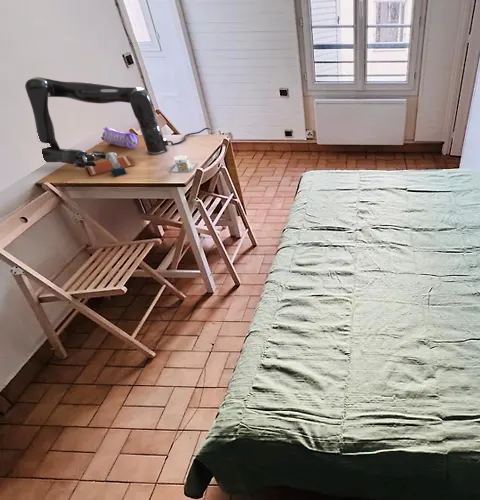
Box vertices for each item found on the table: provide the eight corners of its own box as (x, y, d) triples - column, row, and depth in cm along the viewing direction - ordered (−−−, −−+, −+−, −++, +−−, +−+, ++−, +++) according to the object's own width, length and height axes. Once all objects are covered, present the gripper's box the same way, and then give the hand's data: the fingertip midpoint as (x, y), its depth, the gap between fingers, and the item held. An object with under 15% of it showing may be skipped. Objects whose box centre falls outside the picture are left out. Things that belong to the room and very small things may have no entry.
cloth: (128, 156, 208) (127, 155, 208) (133, 165, 199) (133, 164, 199) (86, 166, 199) (86, 165, 199) (91, 176, 190) (90, 174, 190)
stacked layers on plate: (196, 164, 200) (193, 154, 197) (190, 171, 193) (187, 161, 189) (177, 164, 200) (174, 154, 197) (170, 171, 193) (167, 161, 190)
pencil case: (103, 145, 222) (97, 129, 216) (117, 139, 229) (111, 124, 223) (129, 151, 214) (123, 135, 208) (143, 145, 221) (137, 129, 215)
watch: (123, 169, 195) (114, 149, 189) (127, 175, 190) (119, 154, 184) (111, 172, 193) (102, 152, 186) (115, 178, 188) (106, 157, 181)
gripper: (59, 155, 182) (86, 159, 179) (83, 144, 193) (109, 147, 190) (66, 170, 187) (93, 173, 184) (89, 158, 198) (115, 161, 194)
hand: (101, 160), depth 187 cm, fingers open, 8 cm apart
